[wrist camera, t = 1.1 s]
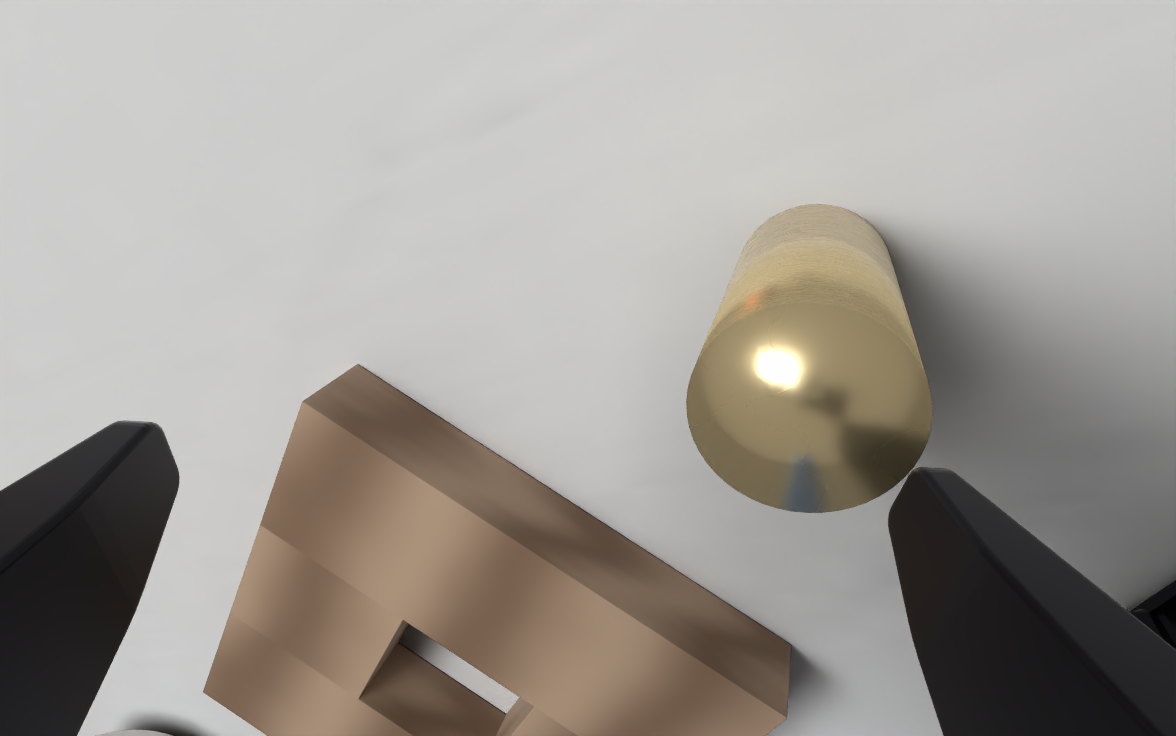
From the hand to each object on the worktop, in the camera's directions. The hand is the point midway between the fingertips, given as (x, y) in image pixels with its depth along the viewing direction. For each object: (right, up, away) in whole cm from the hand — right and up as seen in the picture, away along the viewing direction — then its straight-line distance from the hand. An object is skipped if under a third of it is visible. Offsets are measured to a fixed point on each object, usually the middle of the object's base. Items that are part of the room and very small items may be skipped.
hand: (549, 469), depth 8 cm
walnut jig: (-4, -10, +20) cm, 23 cm away
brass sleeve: (+7, +4, +10) cm, 13 cm away
